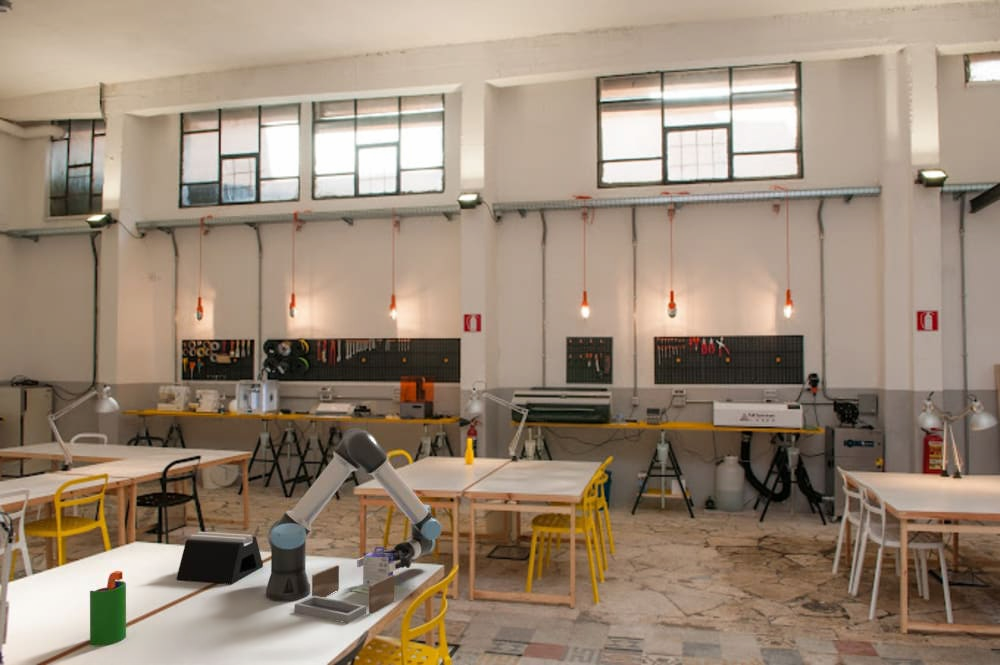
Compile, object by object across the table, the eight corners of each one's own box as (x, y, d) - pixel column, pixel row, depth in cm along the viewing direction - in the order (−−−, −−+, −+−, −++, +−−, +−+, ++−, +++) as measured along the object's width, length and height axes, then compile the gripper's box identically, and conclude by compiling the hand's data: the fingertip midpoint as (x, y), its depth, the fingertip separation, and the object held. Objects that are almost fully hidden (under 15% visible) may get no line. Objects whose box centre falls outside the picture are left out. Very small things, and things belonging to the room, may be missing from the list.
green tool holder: (101, 632, 226) (102, 566, 227) (131, 632, 227) (132, 566, 227) (85, 646, 216) (86, 577, 217) (117, 645, 217) (118, 576, 217)
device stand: (211, 564, 299) (211, 526, 299) (262, 567, 294) (263, 529, 294) (176, 581, 277) (176, 540, 277) (231, 585, 272) (231, 544, 272)
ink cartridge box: (394, 586, 270) (394, 546, 270) (388, 591, 264) (388, 550, 264) (368, 585, 272) (368, 545, 272) (362, 589, 266) (362, 549, 266)
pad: (350, 590, 266) (350, 589, 266) (370, 581, 277) (370, 580, 277) (387, 597, 259) (387, 596, 259) (406, 587, 269) (406, 587, 269)
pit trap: (294, 611, 245) (294, 604, 245) (313, 602, 253) (313, 595, 253) (348, 623, 235) (348, 615, 235) (366, 613, 243) (366, 606, 243)
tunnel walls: (311, 601, 255) (312, 575, 255) (336, 590, 266) (336, 565, 266) (371, 613, 243) (371, 586, 244) (394, 601, 255) (394, 575, 255)
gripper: (434, 565, 278) (402, 581, 259) (379, 556, 290) (345, 571, 271) (434, 545, 278) (402, 560, 259) (380, 537, 290) (345, 550, 271)
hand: (373, 566), depth 265 cm, fingers open, 13 cm apart
